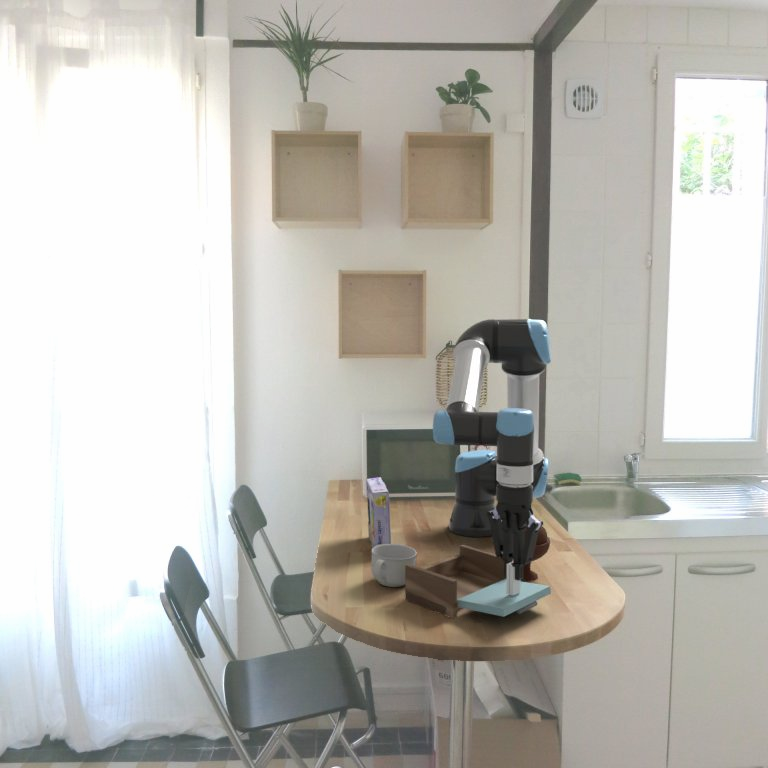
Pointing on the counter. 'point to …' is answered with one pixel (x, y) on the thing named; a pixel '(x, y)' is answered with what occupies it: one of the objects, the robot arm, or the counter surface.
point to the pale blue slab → (504, 598)
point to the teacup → (391, 563)
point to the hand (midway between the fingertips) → (513, 593)
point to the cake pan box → (378, 512)
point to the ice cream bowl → (536, 553)
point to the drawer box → (452, 579)
